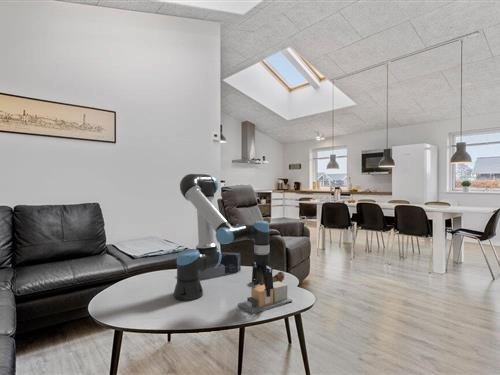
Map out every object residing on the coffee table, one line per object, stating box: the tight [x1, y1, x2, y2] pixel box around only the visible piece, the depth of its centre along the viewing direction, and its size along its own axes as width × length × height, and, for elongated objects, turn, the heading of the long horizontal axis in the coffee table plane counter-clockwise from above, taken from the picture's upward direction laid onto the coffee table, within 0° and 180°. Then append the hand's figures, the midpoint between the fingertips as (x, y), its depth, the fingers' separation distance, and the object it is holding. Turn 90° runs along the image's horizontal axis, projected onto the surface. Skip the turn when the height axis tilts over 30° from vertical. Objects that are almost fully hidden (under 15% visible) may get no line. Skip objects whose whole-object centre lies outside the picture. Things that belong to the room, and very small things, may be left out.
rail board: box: [237, 281, 293, 315], centre depth 144 cm, size 12×24×8 cm, turn 124°
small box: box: [220, 251, 242, 273], centre depth 201 cm, size 13×7×12 cm, turn 74°
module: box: [250, 284, 273, 307], centre depth 143 cm, size 7×8×7 cm
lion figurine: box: [260, 270, 285, 286], centre depth 166 cm, size 15×5×9 cm, turn 98°
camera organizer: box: [199, 264, 226, 281], centre depth 191 cm, size 16×22×6 cm
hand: (262, 300), depth 143 cm, fingers open, 7 cm apart
